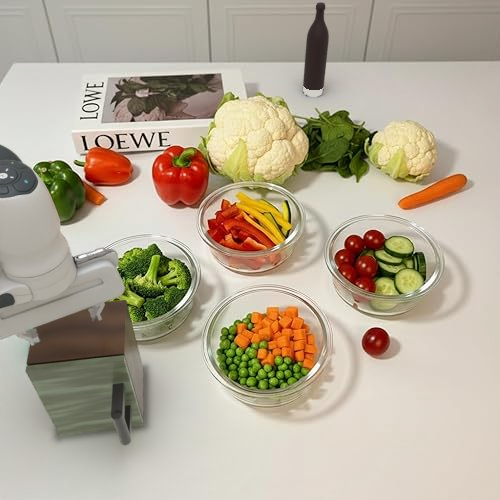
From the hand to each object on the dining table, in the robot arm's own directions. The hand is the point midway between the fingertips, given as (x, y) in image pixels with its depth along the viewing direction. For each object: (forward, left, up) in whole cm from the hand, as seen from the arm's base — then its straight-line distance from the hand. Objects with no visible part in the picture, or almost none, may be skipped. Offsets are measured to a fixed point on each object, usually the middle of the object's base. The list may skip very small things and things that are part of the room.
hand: (66, 329), depth 84 cm
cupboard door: (+1, -7, -26) cm, 26 cm away
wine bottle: (+65, +112, -26) cm, 132 cm away
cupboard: (+1, +3, -26) cm, 26 cm away
